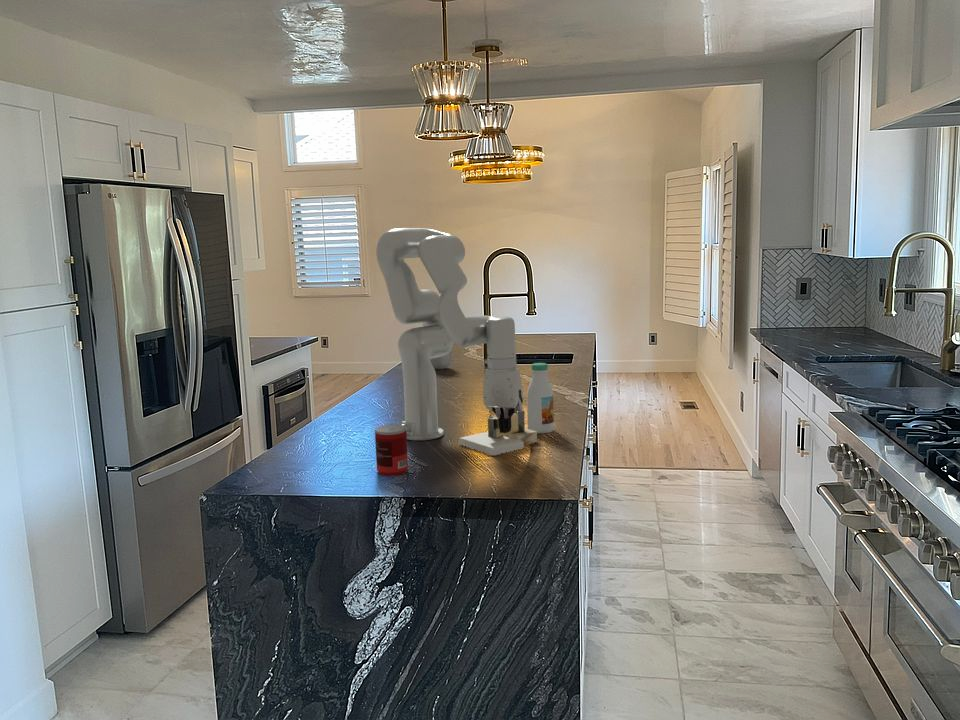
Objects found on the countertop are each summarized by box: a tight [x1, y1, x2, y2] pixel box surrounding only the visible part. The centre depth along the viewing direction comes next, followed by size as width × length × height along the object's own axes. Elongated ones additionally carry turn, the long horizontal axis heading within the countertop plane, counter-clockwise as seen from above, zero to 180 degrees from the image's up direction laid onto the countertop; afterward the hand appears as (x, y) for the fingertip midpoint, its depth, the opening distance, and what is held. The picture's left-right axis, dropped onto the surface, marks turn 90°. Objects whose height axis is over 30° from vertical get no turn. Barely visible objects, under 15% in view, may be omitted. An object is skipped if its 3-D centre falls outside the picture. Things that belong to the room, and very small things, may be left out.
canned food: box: [374, 424, 409, 477], centre depth 196 cm, size 8×8×11 cm
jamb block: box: [503, 428, 538, 446], centre depth 221 cm, size 7×7×3 cm
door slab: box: [458, 414, 525, 456], centre depth 217 cm, size 10×15×8 cm
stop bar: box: [487, 410, 526, 438], centre depth 217 cm, size 13×3×5 cm, turn 134°
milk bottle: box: [526, 362, 555, 434], centre depth 231 cm, size 8×8×20 cm
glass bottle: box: [430, 350, 452, 370], centre depth 344 cm, size 10×10×28 cm
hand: (505, 431), depth 212 cm, fingers closed
